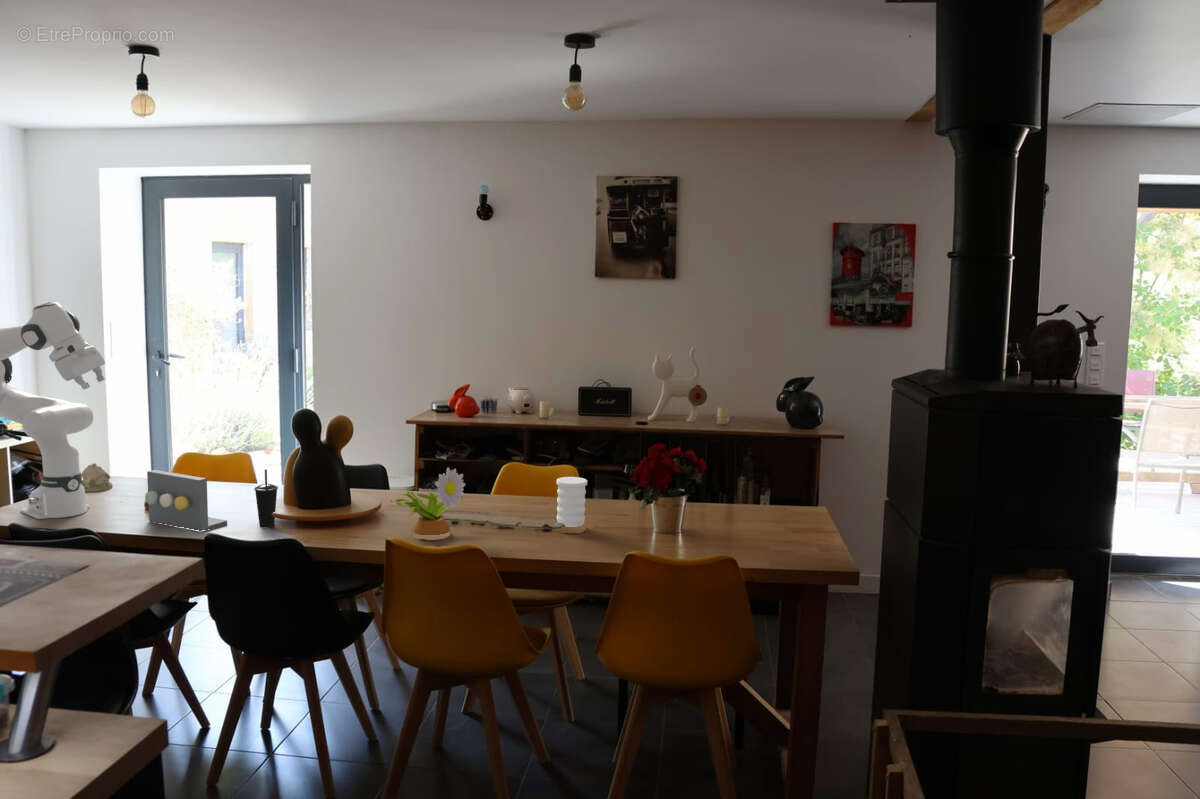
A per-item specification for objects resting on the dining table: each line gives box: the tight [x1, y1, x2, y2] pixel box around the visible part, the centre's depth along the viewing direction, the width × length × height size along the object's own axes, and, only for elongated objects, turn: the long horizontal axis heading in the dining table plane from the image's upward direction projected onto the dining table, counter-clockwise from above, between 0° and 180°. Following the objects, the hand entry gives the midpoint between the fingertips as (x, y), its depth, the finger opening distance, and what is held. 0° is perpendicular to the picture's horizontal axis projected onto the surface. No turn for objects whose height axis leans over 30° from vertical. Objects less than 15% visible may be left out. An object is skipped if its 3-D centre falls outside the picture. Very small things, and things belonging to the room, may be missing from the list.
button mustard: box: [174, 496, 189, 510], centre depth 293 cm, size 4×2×4 cm, turn 65°
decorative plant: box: [390, 467, 466, 535], centre depth 300 cm, size 27×24×25 cm
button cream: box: [160, 493, 174, 507], centre depth 296 cm, size 4×2×4 cm, turn 65°
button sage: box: [144, 491, 159, 505], centre depth 299 cm, size 4×2×4 cm, turn 65°
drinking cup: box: [253, 468, 279, 528], centre depth 303 cm, size 8×8×20 cm
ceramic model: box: [81, 463, 113, 493], centre depth 349 cm, size 14×11×10 cm
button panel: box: [146, 469, 228, 531], centre depth 303 cm, size 25×11×18 cm, turn 65°
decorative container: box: [556, 476, 588, 527], centre depth 311 cm, size 12×12×18 cm
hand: (94, 384), depth 293 cm, fingers open, 8 cm apart
